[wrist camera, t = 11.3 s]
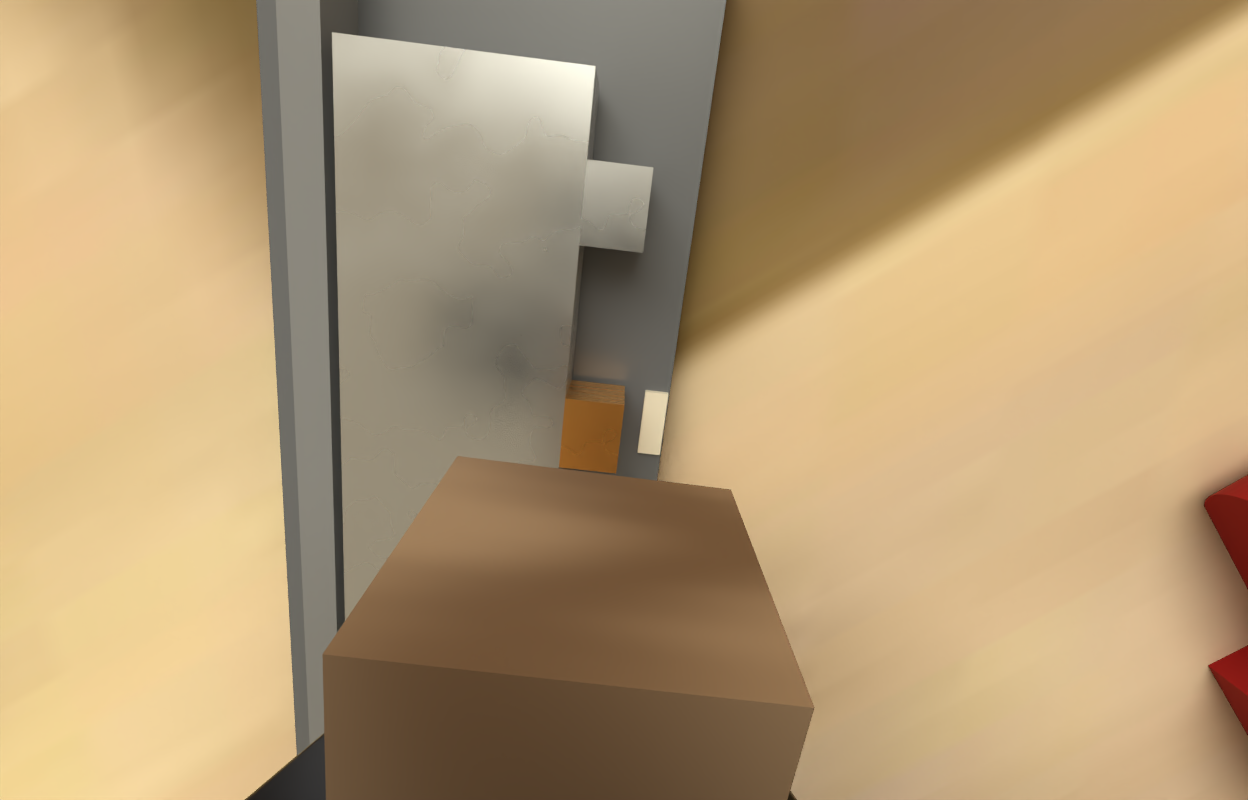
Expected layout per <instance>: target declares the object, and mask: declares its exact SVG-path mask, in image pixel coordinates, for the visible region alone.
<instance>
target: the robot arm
mask: <svg viewBox="0 0 1248 800" xmlns="http://www.w3.org/2000/svg"><path fill="white" fill-rule="evenodd" d="M245 800H326V782H325V740H324V733H323V734H322V735H321V736H320V737H319V738H317V739H316V740H315V741H314V742H313V743H311V744H310V745H309V746H308V747H307V748H306V749H304V750H303V751H302V752H301V753H300V754H298V755H297V756H296V757H295V758H294V759H293V760H291V761H290V762H289V763H288V764H287V765H285V766H284V767H283V768H282V769H281V770H280V771H278V772H277V773H276V774H275V775H274V776H272V777H271V778H270V779H269V780H268V781H267V782H265V783H264V784H263V785H262V786H261V787H259V788H258V789H257V790H256V791H255V792H254V793H252V794H251V795H250V796H249V797H248V798H246V799H245ZM787 800H797V799H796V798H795V797H794V795H793V794H792V793H791V791H790V792H789V796H788V799H787Z"/></svg>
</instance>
